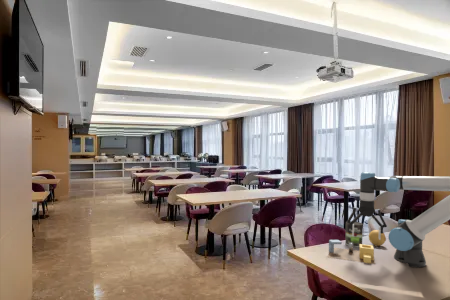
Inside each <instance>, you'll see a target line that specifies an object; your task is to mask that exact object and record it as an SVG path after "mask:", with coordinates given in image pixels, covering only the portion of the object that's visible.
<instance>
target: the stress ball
mask: <svg viewBox="0 0 450 300" xmlns="http://www.w3.org/2000/svg"><path fill="white" fill-rule="evenodd" d="M368 241H369V242H370V243H371V244H372V245H373V246H375V247H380V246H382V245H384V243H385V242H386V241H387V237H386V235H385V233H384V232H383V234H381V240H379V229H373V230H372V231H370V232H369V234H368ZM385 244H386V243H385Z"/></svg>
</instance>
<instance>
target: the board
mask: <svg viewBox="0 0 450 300" xmlns="http://www.w3.org/2000/svg"><path fill="white" fill-rule="evenodd" d="M327 258H328V259H335V260H343V261H350V262H355V263H356V262H358V263H364V261H363V259H361V258H360V256H359V250H356V249H353V252H349V248H348V249H347V248H340V247H334V253H330V252H329V251H328V255H327ZM370 264H372V265H376V260H375V258H374V260H371V263H370Z"/></svg>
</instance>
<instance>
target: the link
mask: <svg viewBox="0 0 450 300" xmlns="http://www.w3.org/2000/svg"><path fill="white" fill-rule="evenodd" d="M358 249H359V250H358V251H359V256H360V258H361V259H363V261H364V262H363V263H364V264H365V263H366V264H371V260H374V259H375V256H374V255H375V248H374V244H372V245H371V244H363V243H362V244H359V247H358Z"/></svg>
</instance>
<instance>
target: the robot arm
mask: <svg viewBox="0 0 450 300" xmlns="http://www.w3.org/2000/svg"><path fill="white" fill-rule="evenodd" d="M400 190H403V191H404V190H406V191H407V190H408V191H430V192H431V191H432V192H450V176H438V175H435V176H434V175H433V176H429V175H427V176H425V175H422V176H421V175H419V176H417V175H412V176H410V175H409V176H408V175H402V176H401V175H391V176H387V177H385V176H376V173H375V172H371V171H369V172H368V171H364V172H360V180H359V207H356V206H353V209H352V212H351V214H350V215H349V217H348V219H347V220H346V222H347V223H349V224H350V230H352V237H354V224H353V223H355V222H358V220H359V219H360V218H361V217H367V218H370V217H372V218H373V220H374V221H375V222H376V223H377V224H378V230H379V240H381V234H383V233H384V229H385V228H387V223H386V220H384V217H383V215H382V212H381V209H380V208H378V209H375V197H376V196H375V195H376V194H375V193H376V192H375V191H381V192H389V193H398V192H399V191H400ZM357 212H359V213H358V214H357V215H356V216H355V214H356V213H357ZM375 213H376V214H377V215H378V216H379V218H380V220H378V218H377V217H376V215H374V214H375ZM354 216H355V217H354ZM353 217H354V218H353ZM380 221H381V222H382V223H381V222H380ZM448 221H450V194H449V195H448V196H446V197H445V198H443V199H442V200H440V201H438V202H437V203H435V204H434V205H433V206H431V207H430V208H428V209H427V210H425V211H424V212H422V213H421V214H419V215H418V216H416V217H415V218H413V219H412V220H410V219H398V222H397V226H395V227H394V228H392V229H391V230H390V231H389V233H388V241H389V243H390V245H391V246H392V247H393V248H394V249H396V250H395V252H394V255H393V258H394V260H396V261H398V262H400V263H404V264H407V265H408V267H411V268H424V267H426V266H427V265H426V264H427V261H426V258H425V255H424V251H423V241H424V240H425V239H426V235H427V234H429V233H430V232H432V231H433V230H436V228H439V227H440V226H442V225H443V224H444V223H446V222H448Z"/></svg>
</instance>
